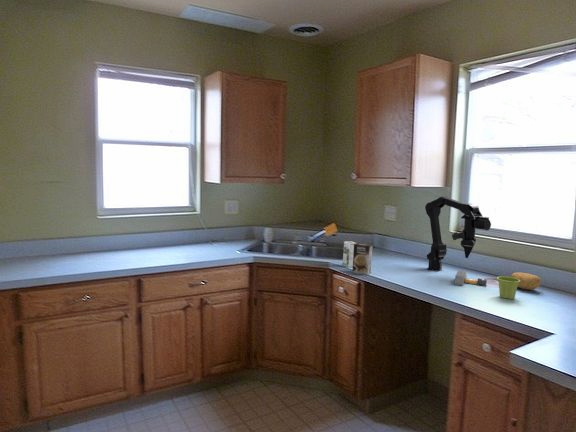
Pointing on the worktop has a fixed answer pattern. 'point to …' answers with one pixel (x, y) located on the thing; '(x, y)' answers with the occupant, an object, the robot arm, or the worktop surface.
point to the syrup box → (348, 253)
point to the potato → (527, 280)
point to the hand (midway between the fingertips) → (467, 256)
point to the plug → (476, 281)
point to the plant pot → (508, 287)
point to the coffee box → (362, 258)
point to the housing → (460, 277)
